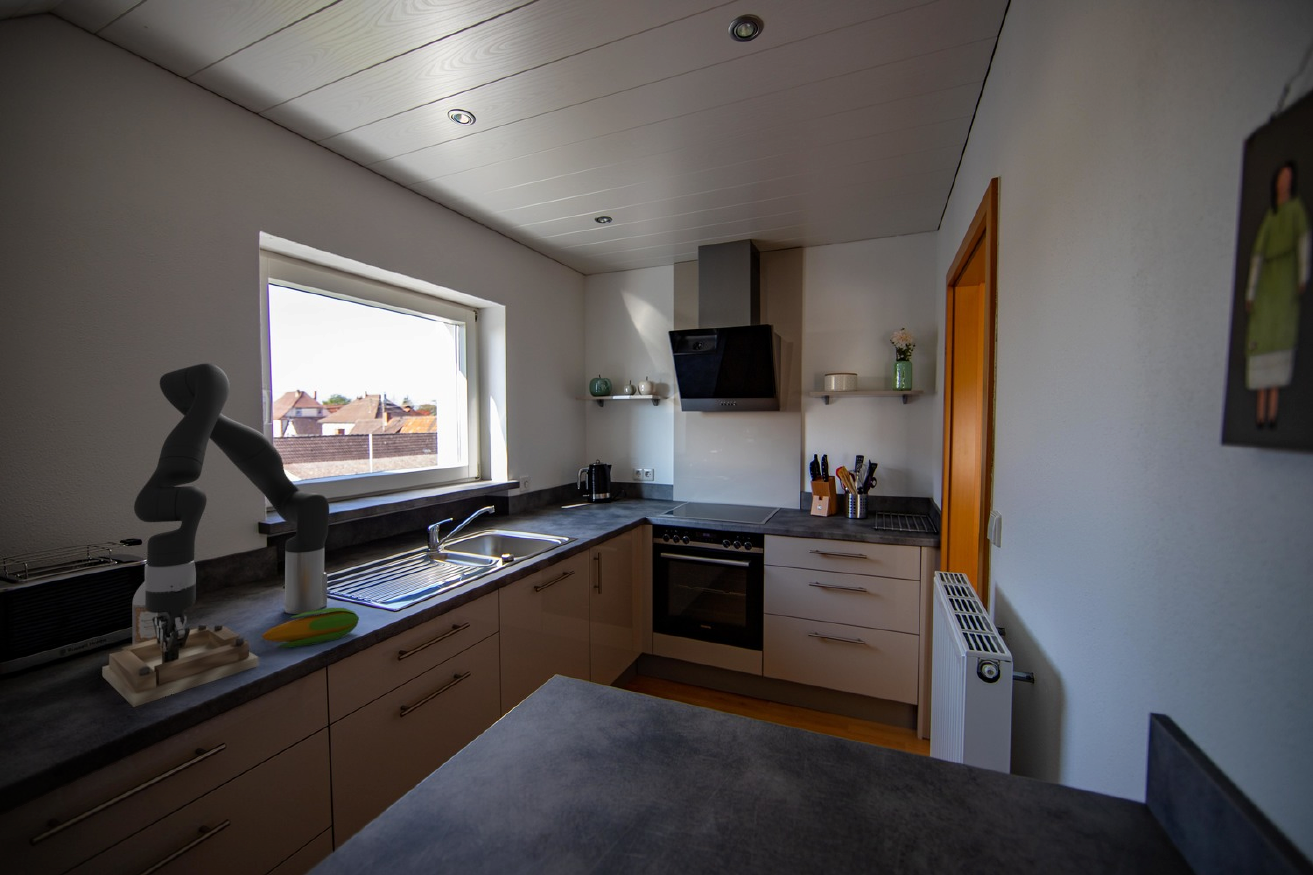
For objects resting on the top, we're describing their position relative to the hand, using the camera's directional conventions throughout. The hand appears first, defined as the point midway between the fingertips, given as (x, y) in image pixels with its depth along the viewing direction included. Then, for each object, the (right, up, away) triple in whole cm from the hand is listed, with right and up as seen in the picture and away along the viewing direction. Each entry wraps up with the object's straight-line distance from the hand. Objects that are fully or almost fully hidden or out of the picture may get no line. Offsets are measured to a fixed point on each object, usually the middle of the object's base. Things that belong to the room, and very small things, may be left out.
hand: (170, 666), depth 107 cm
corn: (+15, -3, +21) cm, 26 cm away
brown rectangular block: (+5, -1, +2) cm, 6 cm away
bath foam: (-17, -2, +14) cm, 23 cm away
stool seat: (-2, -3, +5) cm, 6 cm away
